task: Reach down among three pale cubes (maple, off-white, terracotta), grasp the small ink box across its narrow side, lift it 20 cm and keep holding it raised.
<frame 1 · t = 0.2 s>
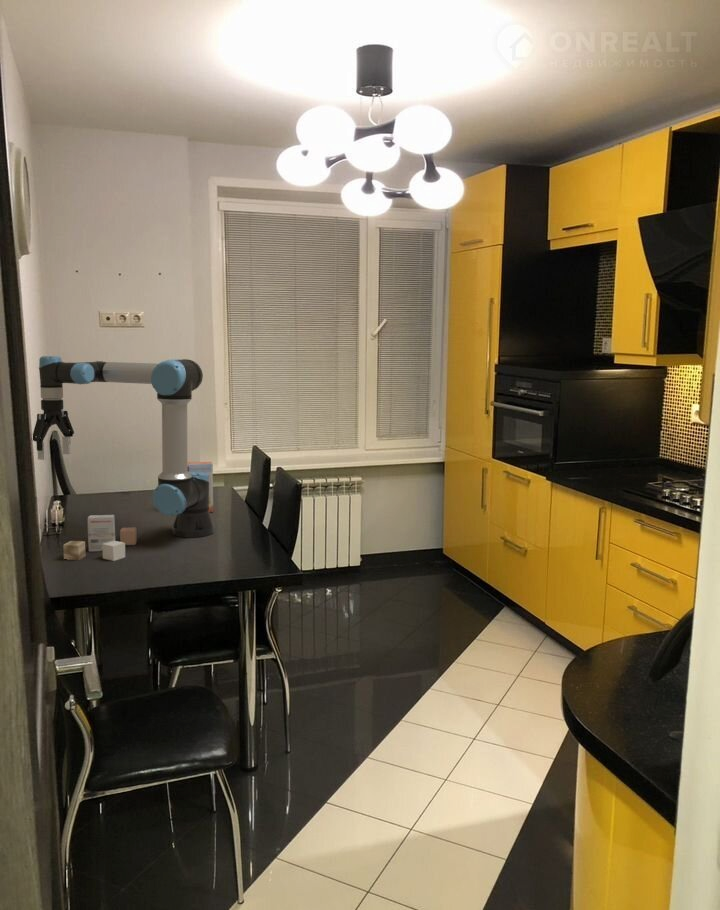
hand: (54, 456, 270), 28 cm above the table, fingers open, 13 cm apart
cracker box: (195, 512, 308), on the table
ink box: (102, 550, 252), on the table
maple cube: (74, 557, 242), on the table
terracotta cube: (128, 543, 260), on the table
off-white cube: (114, 557, 243), on the table
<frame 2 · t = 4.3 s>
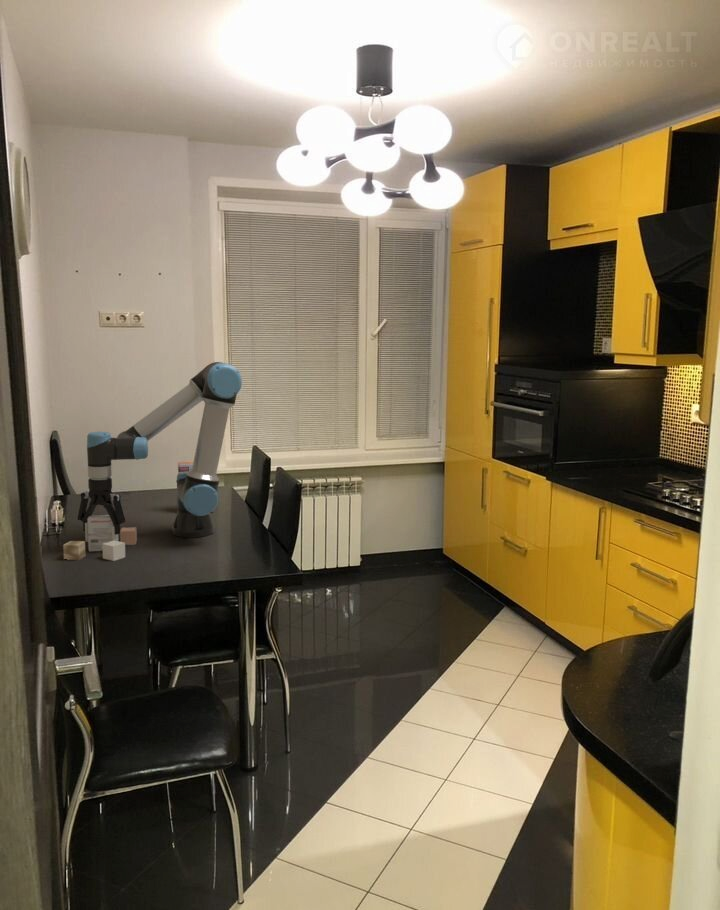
hand: (102, 541, 251), 3 cm above the table, fingers closed on ink box, 9 cm apart
ink box: (102, 549, 252), on the table, touching gripper
everything else where it was.
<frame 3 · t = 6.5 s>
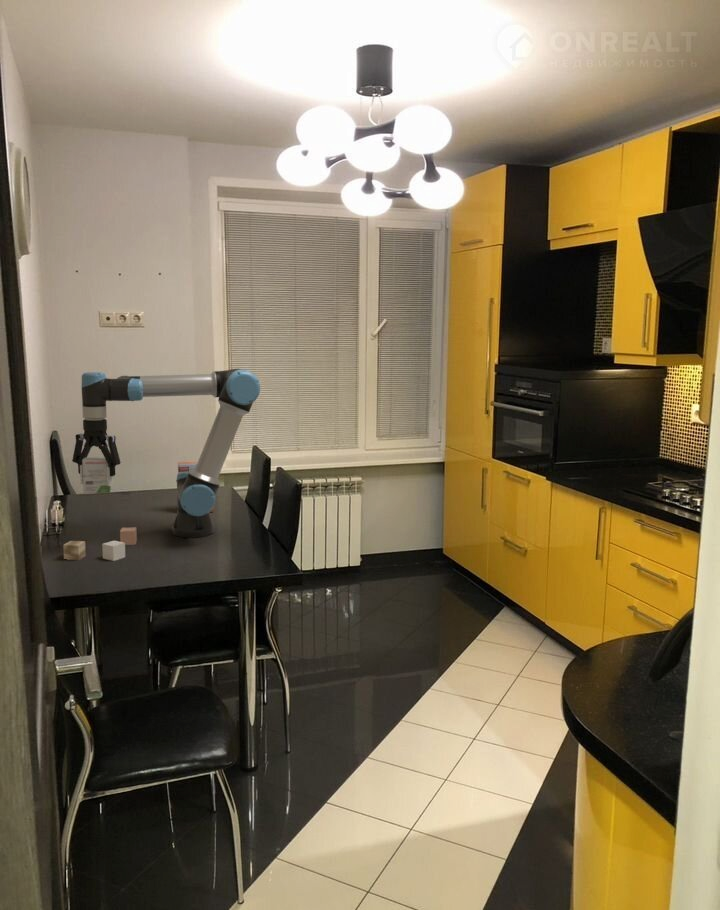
hand: (97, 484, 249), 22 cm above the table, fingers closed on ink box, 9 cm apart
ink box: (97, 492, 250), point 20 cm above the table, touching gripper
everything else where it was.
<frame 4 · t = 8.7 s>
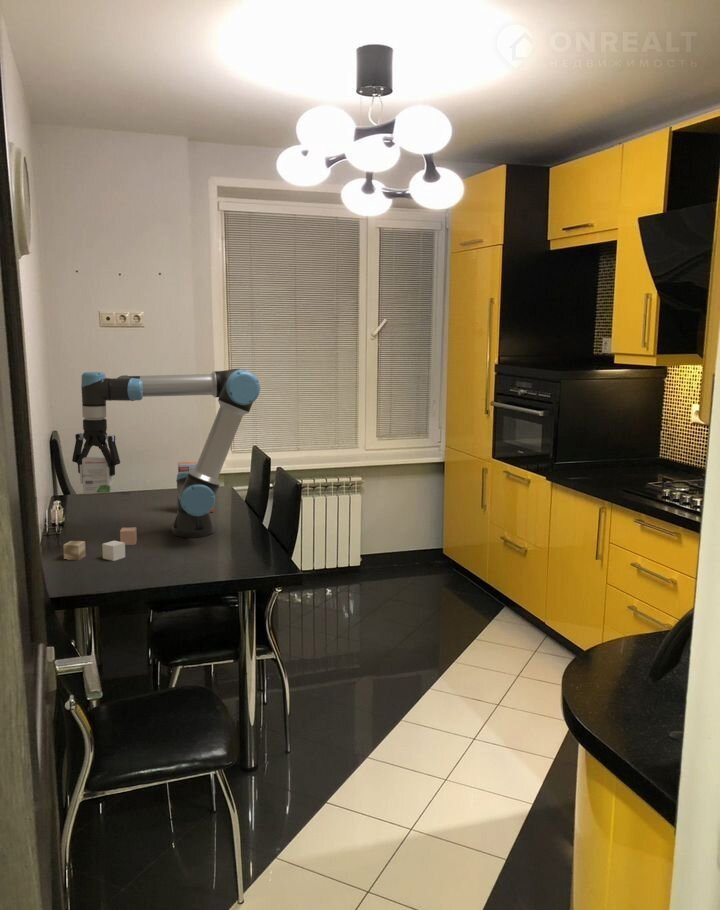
hand: (96, 483, 249), 23 cm above the table, fingers closed on ink box, 9 cm apart
ink box: (97, 492, 250), point 20 cm above the table, touching gripper
everything else where it was.
at the end: the gripper is holding ink box; ink box point 19.7 cm above the table; off-white cube moved 0.1 cm from its start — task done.
